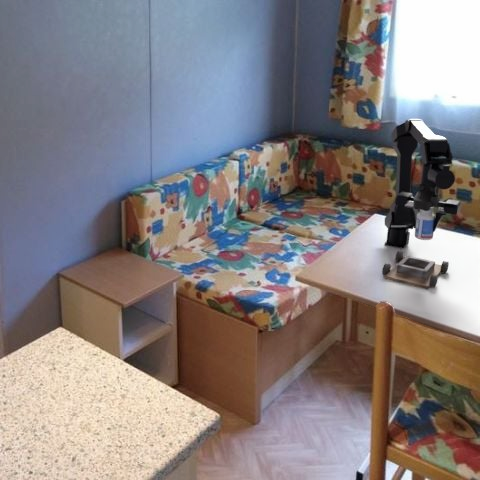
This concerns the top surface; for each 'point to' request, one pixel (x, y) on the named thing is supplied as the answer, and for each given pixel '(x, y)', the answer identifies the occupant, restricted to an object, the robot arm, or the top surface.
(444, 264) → the chassis
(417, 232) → the pill bottle
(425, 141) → the robot arm
